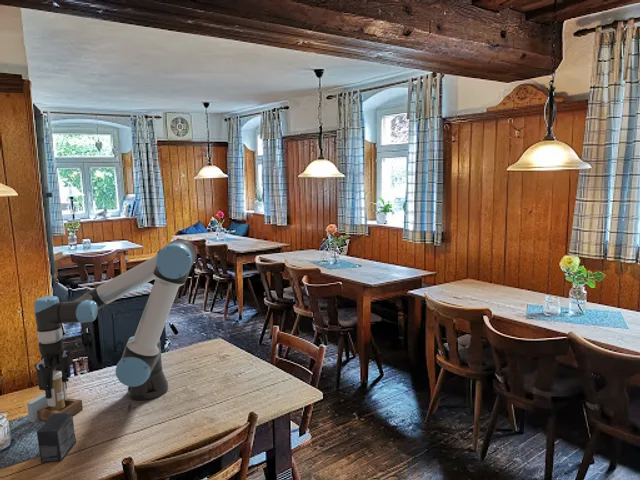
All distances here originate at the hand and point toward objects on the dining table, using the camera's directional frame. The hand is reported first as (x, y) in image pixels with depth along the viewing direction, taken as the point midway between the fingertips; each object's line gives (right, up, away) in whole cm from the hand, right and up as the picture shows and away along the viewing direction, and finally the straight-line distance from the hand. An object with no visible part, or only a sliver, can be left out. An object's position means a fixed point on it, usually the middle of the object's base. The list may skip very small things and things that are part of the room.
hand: (57, 402), depth 166 cm
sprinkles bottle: (0, -2, 0) cm, 2 cm away
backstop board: (-6, -5, +2) cm, 8 cm away
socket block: (+1, -5, +1) cm, 5 cm away
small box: (+13, -8, -22) cm, 27 cm away
